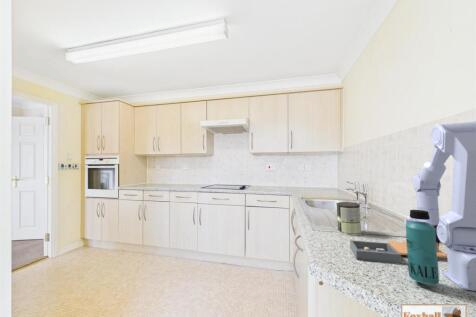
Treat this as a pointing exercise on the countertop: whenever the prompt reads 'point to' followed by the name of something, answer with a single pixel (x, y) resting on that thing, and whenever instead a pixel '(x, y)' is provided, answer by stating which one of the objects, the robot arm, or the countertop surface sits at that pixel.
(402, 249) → the tub lid
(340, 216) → the coffee can
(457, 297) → the countertop surface
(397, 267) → the countertop surface
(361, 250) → the parts tub
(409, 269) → the beverage bottle
